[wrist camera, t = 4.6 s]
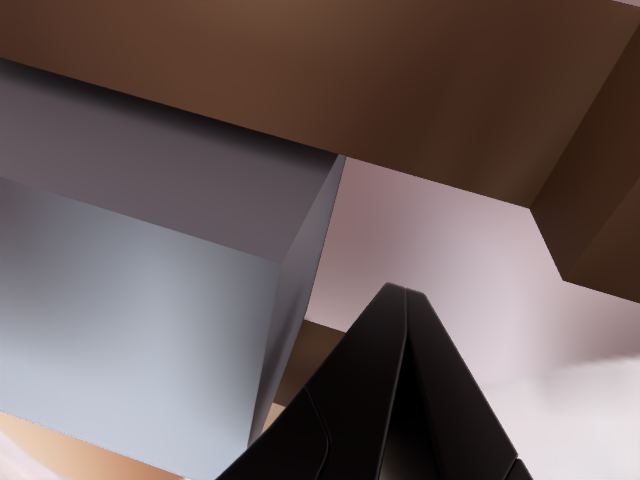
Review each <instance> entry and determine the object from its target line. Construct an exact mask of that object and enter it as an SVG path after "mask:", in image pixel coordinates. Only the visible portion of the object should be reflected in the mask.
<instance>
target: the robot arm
mask: <svg viewBox="0 0 640 480" xmlns="http://www.w3.org/2000/svg"><path fill="white" fill-rule="evenodd" d="M517 457H518V453H517V451H516V449H515V448H514V446H513V444H512V443H511V441H510V439H509V437H508V436H507V434H506V432H505V431H504V429H503V427H502V425H501V424H500V422H499V420H498V419H497V417H496V415H495V413H494V412H493V410H492V408H491V407H490V405H489V403H488V401H487V400H486V398H485V396H484V395H483V393H482V391H481V389H480V388H479V386H478V384H477V383H476V381H475V379H474V378H473V376H472V374H471V372H470V371H469V369H468V367H467V366H466V364H465V362H464V360H463V359H462V357H461V355H460V354H459V352H458V350H457V348H456V347H455V345H454V343H453V342H452V340H451V338H450V336H449V335H448V333H447V331H446V330H445V328H444V326H443V325H442V323H441V321H440V319H439V318H438V316H437V314H436V312H435V311H434V309H433V307H432V306H431V304H430V302H429V301H428V299H427V297H426V295H424V293H422V292H419V291H416V290H412V289H409V288H405V287H402V286H399V285H396V284H393V283H389V282H388V283H385V285H384V286H383V287H382V288H381V290H380V291H379V292H378V294H377V295H376V296H375V297H374V298H373V300H372V301H371V302H370V303H369V305H368V306H367V307H366V308H365V310H364V311H363V312H362V313H361V315H360V316H359V317H358V319H357V320H356V321H355V322H354V323H353V325H352V326H351V327H350V328H349V330H348V331H347V332H346V333H345V335H344V336H343V337H342V338H341V340H340V341H339V342H338V343H337V345H336V346H335V347H334V348H333V350H332V351H331V352H330V353H329V355H328V356H327V357H326V358H325V360H324V361H323V362H322V363H321V365H320V366H319V367H318V369H317V370H316V371H315V372H314V374H313V375H312V376H311V377H310V379H309V380H308V381H307V382H306V384H305V385H304V387H302V388H301V389H300V391H299V392H298V393H297V394H296V396H295V397H294V398H293V399H292V401H291V402H290V403H289V404H288V405H287V407H286V408H285V409H284V410H283V411H282V412H281V413H280V415H279V416H278V417H277V418H276V419H275V420H274V422H273V423H272V424H271V425H270V426H269V427H268V428H267V429H266V430H265V431H264V432H263V433H262V434H261V435H260V436H259V437H258V438H257V439H256V440H255V441H254V442H253V443H252V444H251V445H250V446H249V447H248V449H247V450H246V451H245V452H244V453H242V454H241V455H240V456H239V457H238V458H237V459H236V460H235V461H234V462H233V463H232V464H231V465H230V466H229V467H228V468H227V469H225V470H224V471H223V472H222V473H221V474H220V475H219V476H218V477H217V478H216V479H215V480H533V478H532V476H531V475H530V473H529V471H528V470H527V468H526V466H525V465H524V463H523V461H522V460H521V459H517Z"/></svg>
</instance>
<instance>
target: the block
mask: <svg viewBox="0 0 640 480" xmlns="http://www.w3.org/2000/svg"><path fill="white" fill-rule="evenodd" d="M345 160H346V156H344V155H340V154H337V153H333V152H330V151H326V150H323V149H319V148H316V147H312V146H309V145H305V144H302V143H298V142H295V141H291V140H288V139H284V138H281V137H277V136H274V135H270V134H267V133H263V132H260V131H256V130H253V129H249V128H246V127H242V126H239V125H235V124H232V123H228V122H225V121H221V120H218V119H214V118H211V117H207V116H204V115H200V114H197V113H193V112H190V111H186V110H183V109H179V108H176V107H172V106H169V105H165V104H162V103H158V102H155V101H151V100H148V99H144V98H141V97H137V96H134V95H130V94H127V93H123V92H120V91H116V90H113V89H109V88H106V87H102V86H99V85H95V84H92V83H88V82H85V81H81V80H78V79H74V78H71V77H67V76H64V75H60V74H57V73H53V72H50V71H46V70H43V69H39V68H36V67H32V66H29V65H25V64H22V63H18V62H15V61H11V60H8V59H4V58H1V57H0V411H1V412H4V413H7V414H10V415H13V416H16V417H18V418H21V419H24V420H26V421H29V422H32V423H35V424H38V425H40V426H43V427H46V428H49V429H52V430H55V431H57V432H60V433H63V434H66V435H68V436H71V437H74V438H77V439H79V440H82V441H85V442H88V443H91V444H94V445H96V446H99V447H102V448H105V449H107V450H110V451H113V452H116V453H119V454H121V455H124V456H127V457H130V458H132V459H136V460H138V461H141V462H144V463H146V464H149V465H152V466H155V467H158V468H161V469H163V470H166V471H169V472H172V473H174V474H177V475H180V476H183V477H185V478H188V479H191V480H215V479H216V478H217V477H218V476H219V475H220V474H221V473H222V472H223V471H224V470H225V469H227V468H228V467H229V466H230V465H231V464H232V463H233V462H234V461H235V460H236V459H237V458H238V457H239V456H240V455H241V454H242V453H244V452H245V451H246V450H247V449H248V447H249V446H250V445H251V444H252V443H253V442H254V441H255V440H256V439H257V438H258V437H259V436H260V435H261V432H262V430H263V427H264V424H265V421H266V419H267V416H268V413H269V411H270V408H271V405H272V403H273V400H274V397H275V394H276V392H277V389H278V386H279V384H280V381H281V378H282V376H283V373H284V370H285V367H286V365H287V362H288V359H289V357H290V354H291V351H292V349H293V346H294V343H295V340H296V338H297V335H298V332H299V330H300V327H301V324H302V322H303V319H304V316H305V313H306V311H307V307H308V303H309V299H310V296H311V291H312V288H313V284H314V280H315V276H316V272H317V268H318V264H319V261H320V257H321V253H322V249H323V245H324V241H325V237H326V233H327V230H328V226H329V222H330V218H331V214H332V211H333V207H334V203H335V199H336V195H337V191H338V187H339V183H340V179H341V176H342V171H343V168H344V164H345Z"/></svg>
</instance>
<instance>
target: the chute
mask: <svg viewBox="0 0 640 480" xmlns="http://www.w3.org/2000/svg"><path fill="white" fill-rule="evenodd" d="M0 57H1V58H4V59H8V60H11V61H15V62H18V63H22V64H25V65H29V66H32V67H36V68H39V69H43V70H46V71H50V72H53V73H57V74H60V75H64V76H67V77H71V78H74V79H78V80H81V81H85V82H88V83H92V84H95V85H99V86H102V87H106V88H109V89H113V90H116V91H120V92H123V93H127V94H130V95H134V96H137V97H141V98H144V99H148V100H151V101H155V102H158V103H162V104H165V105H169V106H172V107H176V108H179V109H183V110H186V111H190V112H193V113H197V114H200V115H204V116H207V117H211V118H214V119H218V120H221V121H225V122H228V123H232V124H235V125H239V126H242V127H246V128H249V129H253V130H256V131H260V132H263V133H267V134H270V135H274V136H277V137H281V138H284V139H288V140H291V141H295V142H298V143H302V144H305V145H309V146H312V147H316V148H319V149H323V150H326V151H330V152H333V153H337V154H340V155H344V156H347V157H351V158H354V159H358V160H361V161H365V162H368V163H372V164H375V165H378V166H382V167H386V168H389V169H392V170H396V171H400V172H403V173H407V174H410V175H413V176H417V177H420V178H424V179H428V180H431V181H434V182H438V183H442V184H445V185H449V186H452V187H455V188H459V189H462V190H466V191H469V192H473V193H476V194H480V195H484V196H487V197H491V198H494V199H498V200H501V201H504V202H508V203H511V204H515V205H519V206H522V207H526V208H529V209H530V211H531V213H532V215H533V217H534V219H535V222H536V224H537V226H538V228H539V230H540V233H541V235H542V237H543V239H544V241H545V243H546V245H547V248H548V250H549V252H550V254H551V256H552V258H553V260H554V263H555V265H556V267H557V269H558V271H559V273H560V275H561V277H562V280H563V281H566V282H570V283H573V284H576V285H580V286H583V287H586V288H590V289H593V290H596V291H600V292H603V293H607V294H610V295H613V296H617V297H620V298H623V299H627V300H630V301H633V302H637V303H640V7H637V6H633V5H629V4H625V3H621V2H617V1H612V0H0ZM344 335H345V332H342V331H339V330H336V329H332V328H329V327H326V326H323V325H320V324H317V323H314V322H310V321H307V320H304V319H303V322H302V324H301V327H300V330H299V332H298V335H297V338H296V340H295V343H294V346H293V349H292V351H291V354H290V357H289V359H288V362H287V365H286V367H285V370H284V373H283V376H282V378H281V381H280V384H279V386H278V389H277V392H276V394H275V397H274V400H273V403H272V405H271V408H270V411H269V413H268V416H267V419H266V421H265V424H264V427H263V430H262V432H261V434H262V433H263V432H264V431H265V430H266V429H267V428H268V427H269V426H270V425H271V424H272V423H273V422H274V420H275V419H276V418H277V417H278V416H279V415H280V413H281V412H282V411H283V410H284V409H285V408H286V407H287V405H288V404H289V403H290V402H291V401H292V399H293V398H294V397H295V396H296V394H297V393H298V392H299V391H300V389H301V388H302V387H304V385H305V384H306V382H307V381H308V380H309V379H310V377H311V376H312V375H313V374H314V372H315V371H316V370H317V369H318V367H319V366H320V365H321V363H322V362H323V361H324V360H325V358H326V357H327V356H328V355H329V353H330V352H331V351H332V350H333V348H334V347H335V346H336V345H337V343H338V342H339V341H340V340H341V338H342V337H343V336H344Z"/></svg>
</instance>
